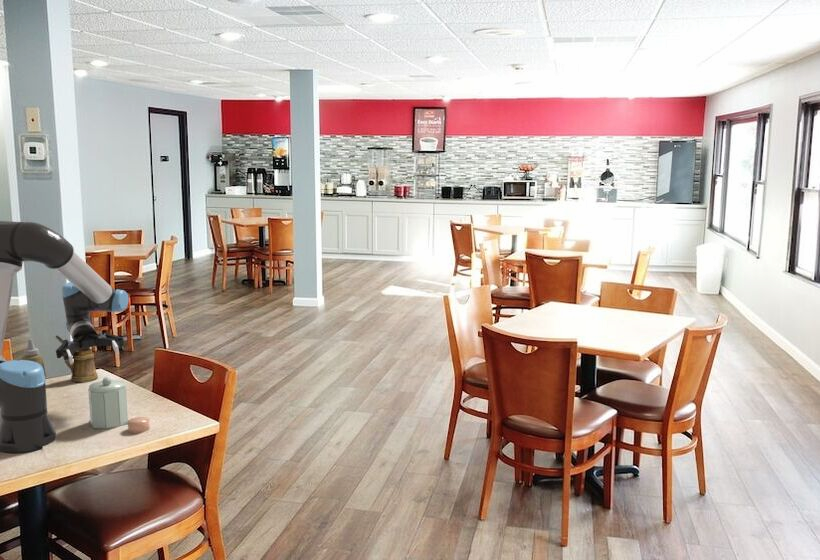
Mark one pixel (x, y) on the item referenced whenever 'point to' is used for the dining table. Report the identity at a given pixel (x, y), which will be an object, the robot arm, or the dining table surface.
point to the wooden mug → (82, 365)
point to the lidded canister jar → (108, 403)
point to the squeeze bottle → (33, 354)
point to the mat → (107, 428)
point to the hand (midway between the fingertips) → (94, 355)
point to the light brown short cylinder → (138, 425)
